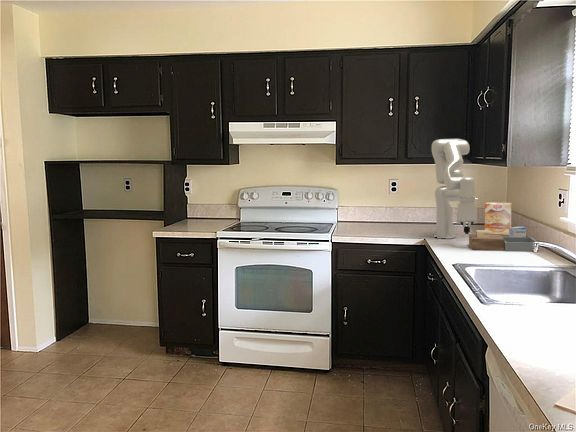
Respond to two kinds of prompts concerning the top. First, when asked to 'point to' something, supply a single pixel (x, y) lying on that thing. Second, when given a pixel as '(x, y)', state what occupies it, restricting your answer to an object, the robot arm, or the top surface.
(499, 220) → the coffeecake box
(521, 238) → the bin
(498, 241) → the walnut riser
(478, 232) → the birch tile
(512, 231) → the medicine box
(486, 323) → the top surface
